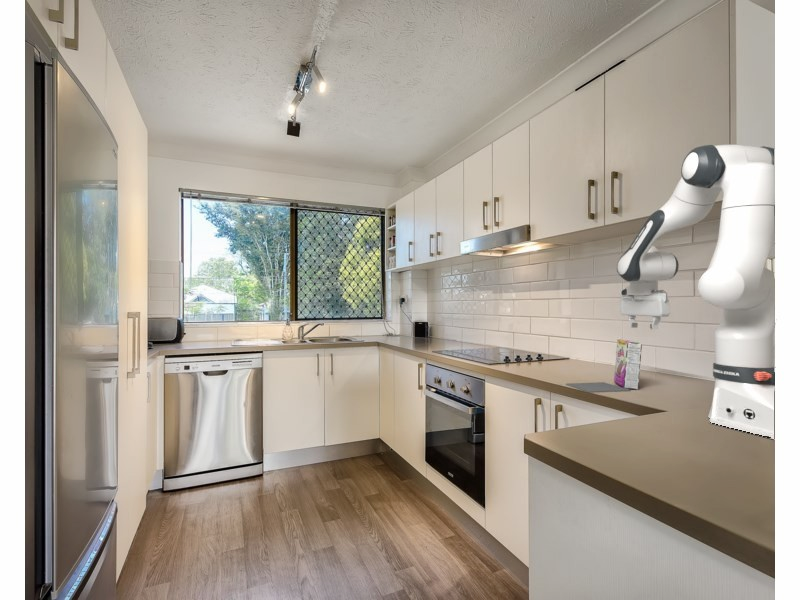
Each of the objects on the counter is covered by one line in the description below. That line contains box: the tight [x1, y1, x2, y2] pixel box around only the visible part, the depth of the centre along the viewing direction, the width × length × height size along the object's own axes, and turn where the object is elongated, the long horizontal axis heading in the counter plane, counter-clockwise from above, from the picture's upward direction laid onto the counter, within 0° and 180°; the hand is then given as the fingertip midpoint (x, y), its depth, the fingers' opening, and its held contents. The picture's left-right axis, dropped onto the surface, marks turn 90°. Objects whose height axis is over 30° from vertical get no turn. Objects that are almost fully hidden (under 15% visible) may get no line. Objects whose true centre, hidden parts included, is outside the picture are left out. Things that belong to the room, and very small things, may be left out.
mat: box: [565, 381, 632, 393], centre depth 141 cm, size 14×16×1 cm
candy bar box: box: [613, 338, 643, 390], centre depth 142 cm, size 11×5×16 cm, turn 168°
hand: (643, 328), depth 144 cm, fingers open, 8 cm apart
